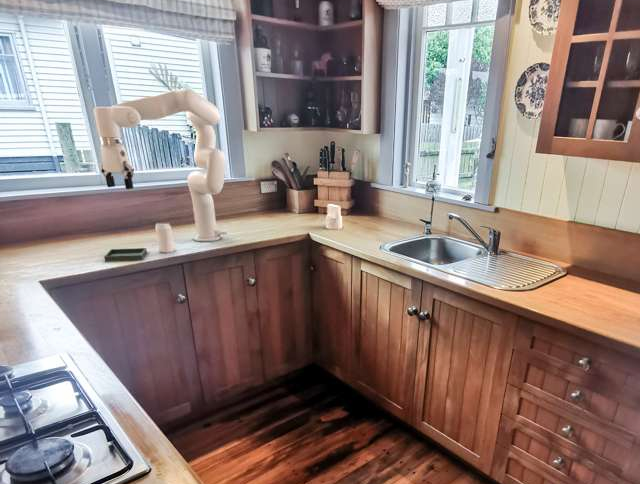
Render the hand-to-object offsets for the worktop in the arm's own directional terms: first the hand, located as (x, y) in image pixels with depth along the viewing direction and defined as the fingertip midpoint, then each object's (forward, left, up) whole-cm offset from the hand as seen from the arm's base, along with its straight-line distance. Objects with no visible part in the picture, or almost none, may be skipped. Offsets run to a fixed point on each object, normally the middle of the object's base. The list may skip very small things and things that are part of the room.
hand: (120, 187), depth 187 cm
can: (-12, -6, -29) cm, 32 cm away
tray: (+3, +1, -28) cm, 29 cm away
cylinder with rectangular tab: (-94, -42, -29) cm, 107 cm away
